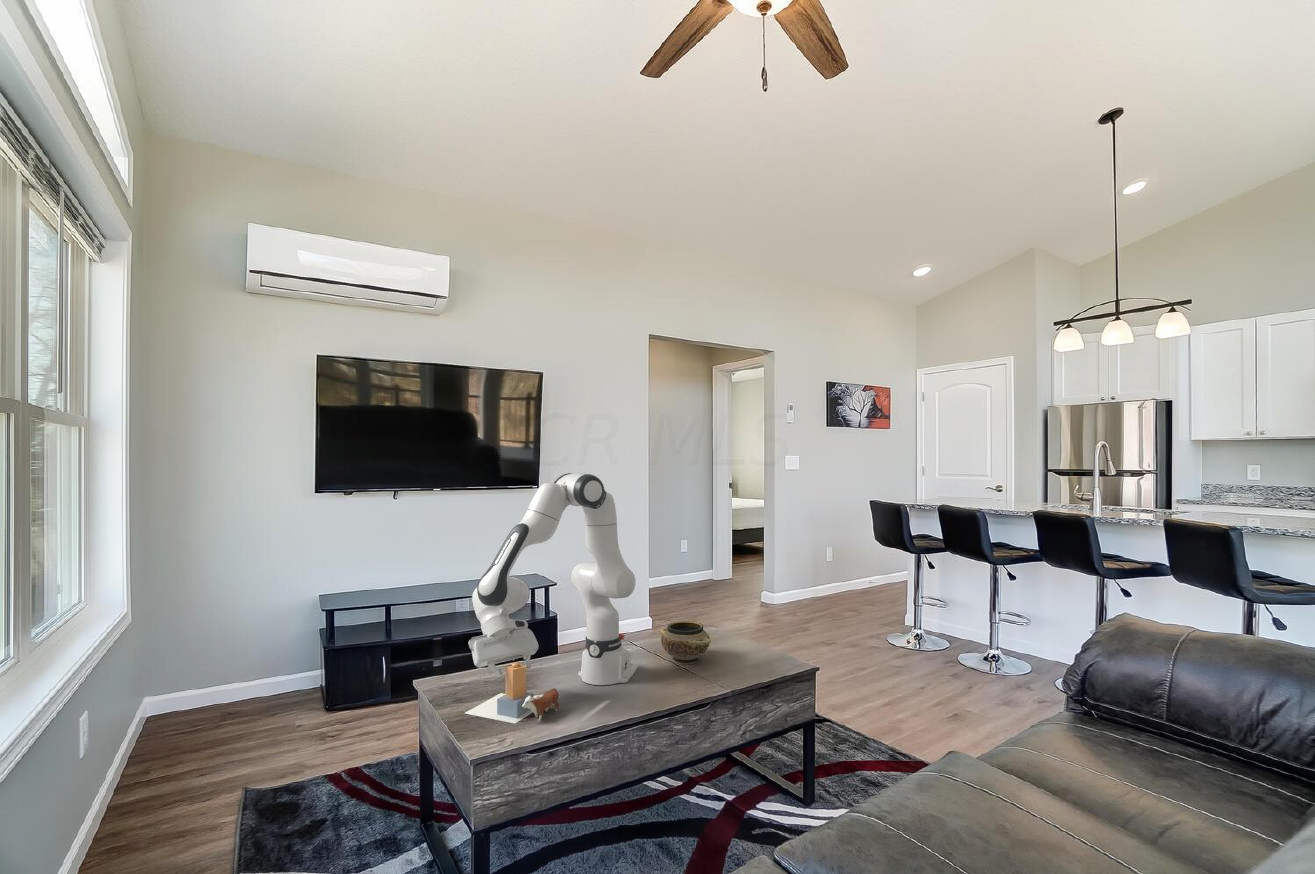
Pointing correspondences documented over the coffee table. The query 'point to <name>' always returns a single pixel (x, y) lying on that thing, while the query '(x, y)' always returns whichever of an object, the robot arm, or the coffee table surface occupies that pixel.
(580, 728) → the coffee table surface
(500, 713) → the base block
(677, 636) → the ceramic bowl
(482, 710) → the baseplate
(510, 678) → the tall brick
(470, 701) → the coffee table surface
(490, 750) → the coffee table surface
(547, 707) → the bull figurine
